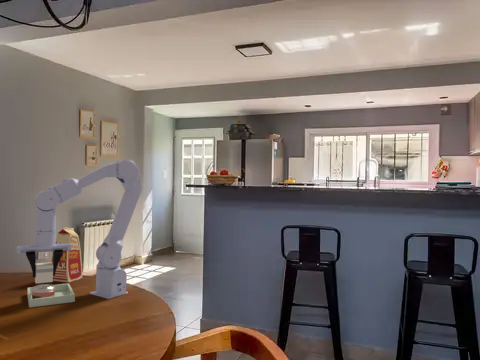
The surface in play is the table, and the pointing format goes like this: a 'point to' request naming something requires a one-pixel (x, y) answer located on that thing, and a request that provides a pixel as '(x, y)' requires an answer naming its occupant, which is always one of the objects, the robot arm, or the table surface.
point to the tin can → (43, 291)
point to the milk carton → (68, 257)
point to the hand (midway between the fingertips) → (44, 275)
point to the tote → (61, 296)
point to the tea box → (44, 272)
